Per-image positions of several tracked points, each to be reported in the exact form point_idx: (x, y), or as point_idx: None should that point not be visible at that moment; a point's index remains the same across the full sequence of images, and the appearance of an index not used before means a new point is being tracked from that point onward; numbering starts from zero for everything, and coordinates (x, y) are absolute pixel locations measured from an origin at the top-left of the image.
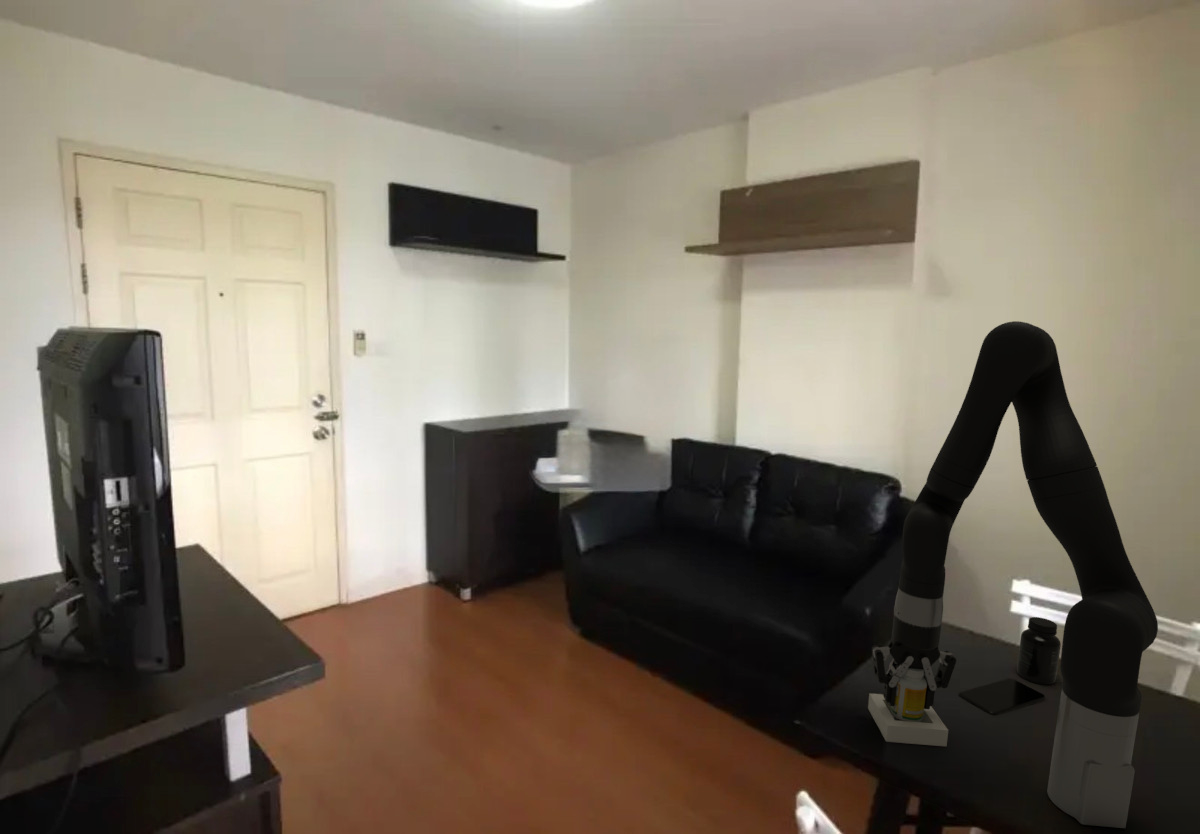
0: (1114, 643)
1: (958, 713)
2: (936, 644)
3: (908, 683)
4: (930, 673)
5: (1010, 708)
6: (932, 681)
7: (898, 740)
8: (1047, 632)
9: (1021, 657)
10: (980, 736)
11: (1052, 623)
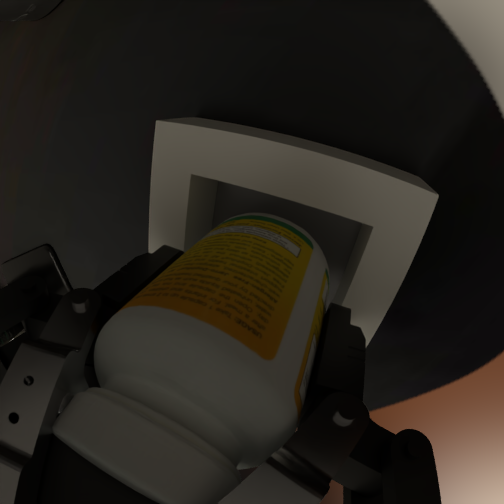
0: None
1: (99, 267)
2: None
3: (235, 389)
4: (20, 377)
5: (27, 253)
6: (58, 330)
7: (375, 161)
8: None
9: (3, 334)
10: (86, 170)
11: None
